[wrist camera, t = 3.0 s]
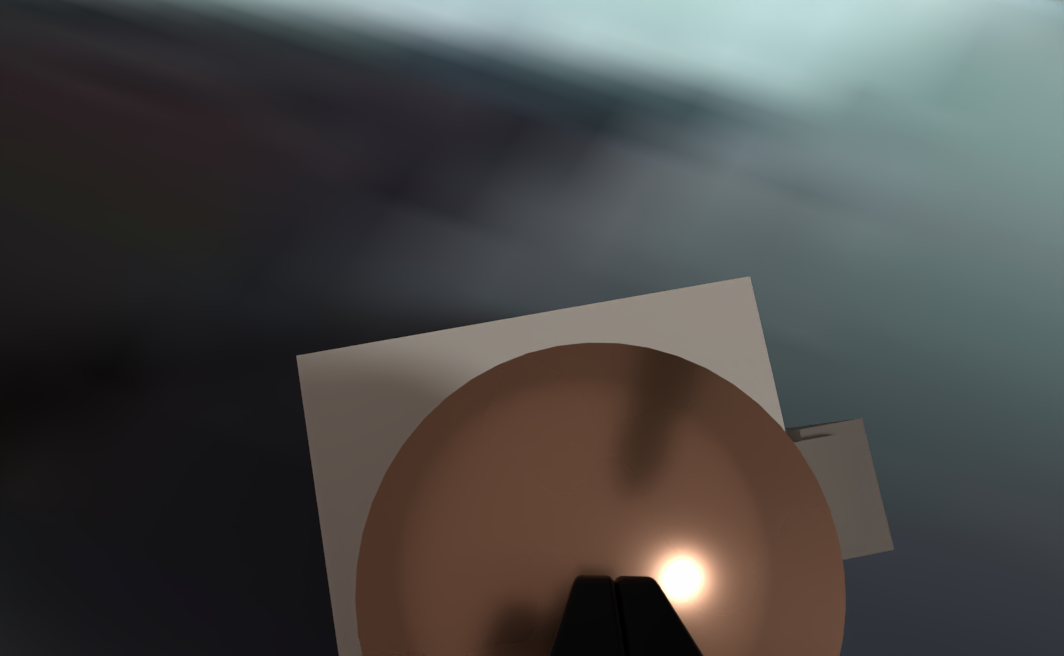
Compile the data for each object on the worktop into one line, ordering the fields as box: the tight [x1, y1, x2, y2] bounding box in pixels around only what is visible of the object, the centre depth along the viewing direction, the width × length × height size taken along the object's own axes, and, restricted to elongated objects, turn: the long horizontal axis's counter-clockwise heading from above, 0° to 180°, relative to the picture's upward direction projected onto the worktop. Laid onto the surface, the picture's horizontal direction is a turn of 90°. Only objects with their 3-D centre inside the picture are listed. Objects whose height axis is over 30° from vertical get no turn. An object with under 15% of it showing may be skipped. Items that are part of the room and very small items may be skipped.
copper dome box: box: [296, 276, 894, 656], centre depth 18 cm, size 8×10×8 cm
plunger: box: [355, 343, 846, 656], centre depth 13 cm, size 6×6×7 cm
